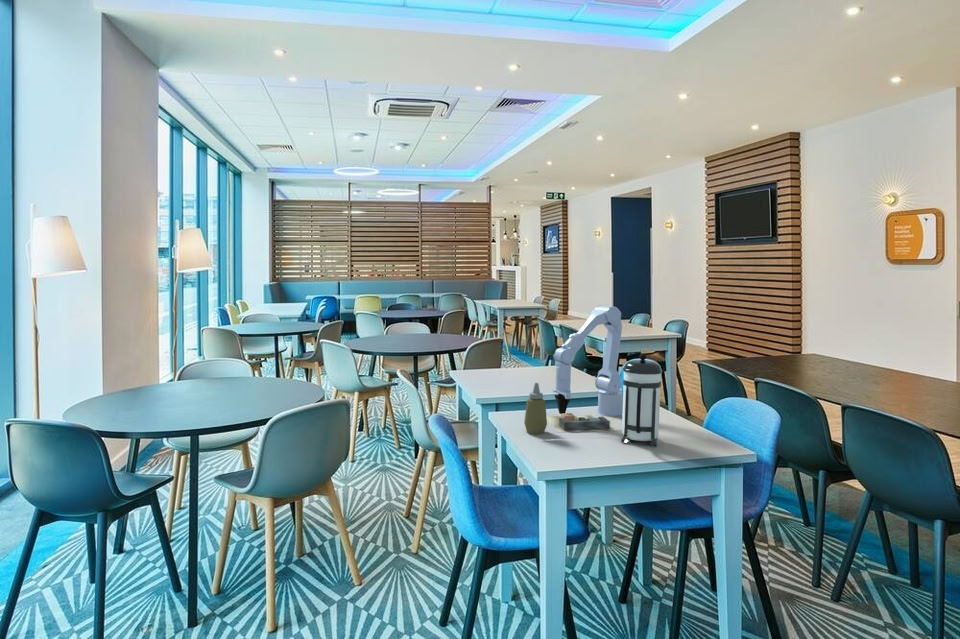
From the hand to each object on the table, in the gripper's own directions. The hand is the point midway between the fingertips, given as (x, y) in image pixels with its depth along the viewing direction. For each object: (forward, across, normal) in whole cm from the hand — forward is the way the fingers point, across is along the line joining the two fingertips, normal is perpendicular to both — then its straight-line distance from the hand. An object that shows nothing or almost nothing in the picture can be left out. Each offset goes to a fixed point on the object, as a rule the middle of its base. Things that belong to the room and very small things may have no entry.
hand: (562, 413), depth 219 cm
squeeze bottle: (+3, +18, -15) cm, 24 cm away
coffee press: (+2, +32, +18) cm, 37 cm away
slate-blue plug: (+2, +14, +8) cm, 16 cm away
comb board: (+2, +8, +4) cm, 10 cm away
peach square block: (+2, +7, 0) cm, 7 cm away
